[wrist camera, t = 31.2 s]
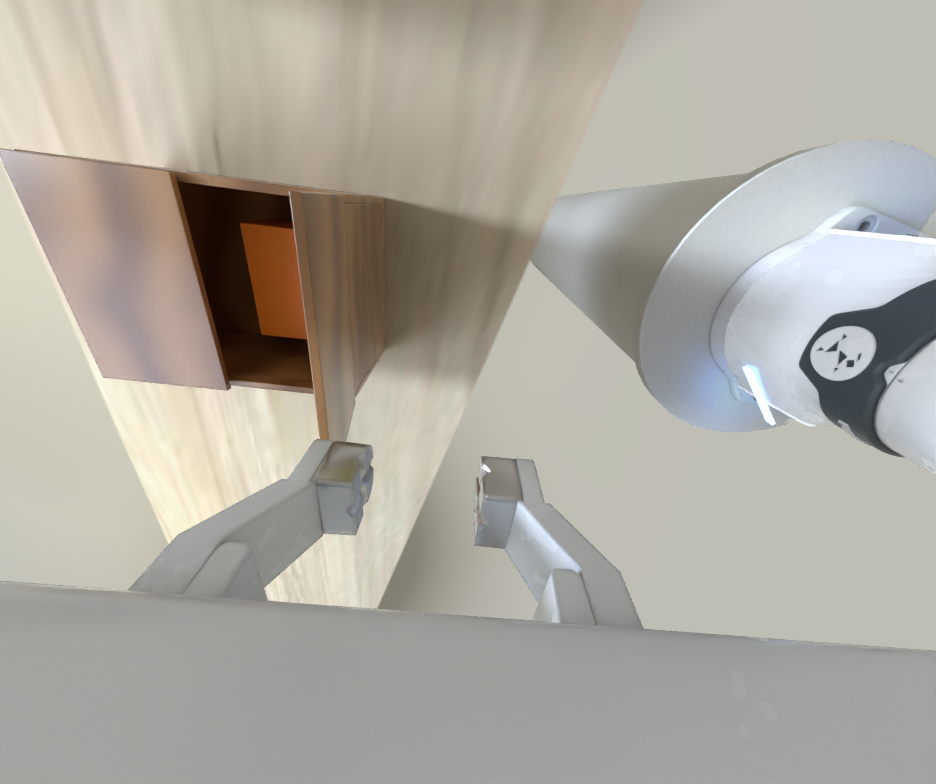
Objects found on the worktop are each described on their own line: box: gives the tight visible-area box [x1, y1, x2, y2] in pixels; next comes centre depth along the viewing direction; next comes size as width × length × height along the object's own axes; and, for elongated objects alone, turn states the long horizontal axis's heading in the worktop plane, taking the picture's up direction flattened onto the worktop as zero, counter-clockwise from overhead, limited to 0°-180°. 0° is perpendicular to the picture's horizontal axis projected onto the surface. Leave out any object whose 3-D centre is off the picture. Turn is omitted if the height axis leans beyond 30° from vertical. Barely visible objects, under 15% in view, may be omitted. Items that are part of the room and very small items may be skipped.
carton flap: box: [289, 191, 355, 442], centre depth 17 cm, size 8×13×1 cm
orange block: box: [240, 220, 307, 340], centre depth 27 cm, size 5×8×5 cm, turn 173°
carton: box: [0, 149, 385, 398], centre depth 25 cm, size 17×13×10 cm
